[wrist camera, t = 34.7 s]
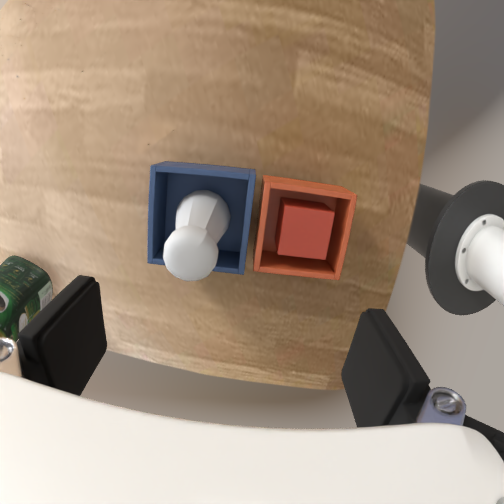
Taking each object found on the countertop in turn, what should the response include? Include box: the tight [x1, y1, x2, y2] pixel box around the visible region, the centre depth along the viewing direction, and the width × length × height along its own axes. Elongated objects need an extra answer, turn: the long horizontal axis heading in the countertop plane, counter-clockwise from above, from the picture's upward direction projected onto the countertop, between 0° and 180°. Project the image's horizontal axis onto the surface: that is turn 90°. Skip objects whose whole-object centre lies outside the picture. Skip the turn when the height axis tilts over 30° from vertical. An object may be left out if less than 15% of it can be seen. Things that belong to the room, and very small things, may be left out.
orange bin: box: [253, 175, 357, 280], centre depth 33 cm, size 9×9×6 cm
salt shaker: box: [163, 190, 231, 281], centre depth 29 cm, size 6×6×13 cm
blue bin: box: [148, 161, 256, 275], centre depth 33 cm, size 10×10×6 cm
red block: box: [275, 197, 335, 260], centre depth 33 cm, size 5×5×5 cm
